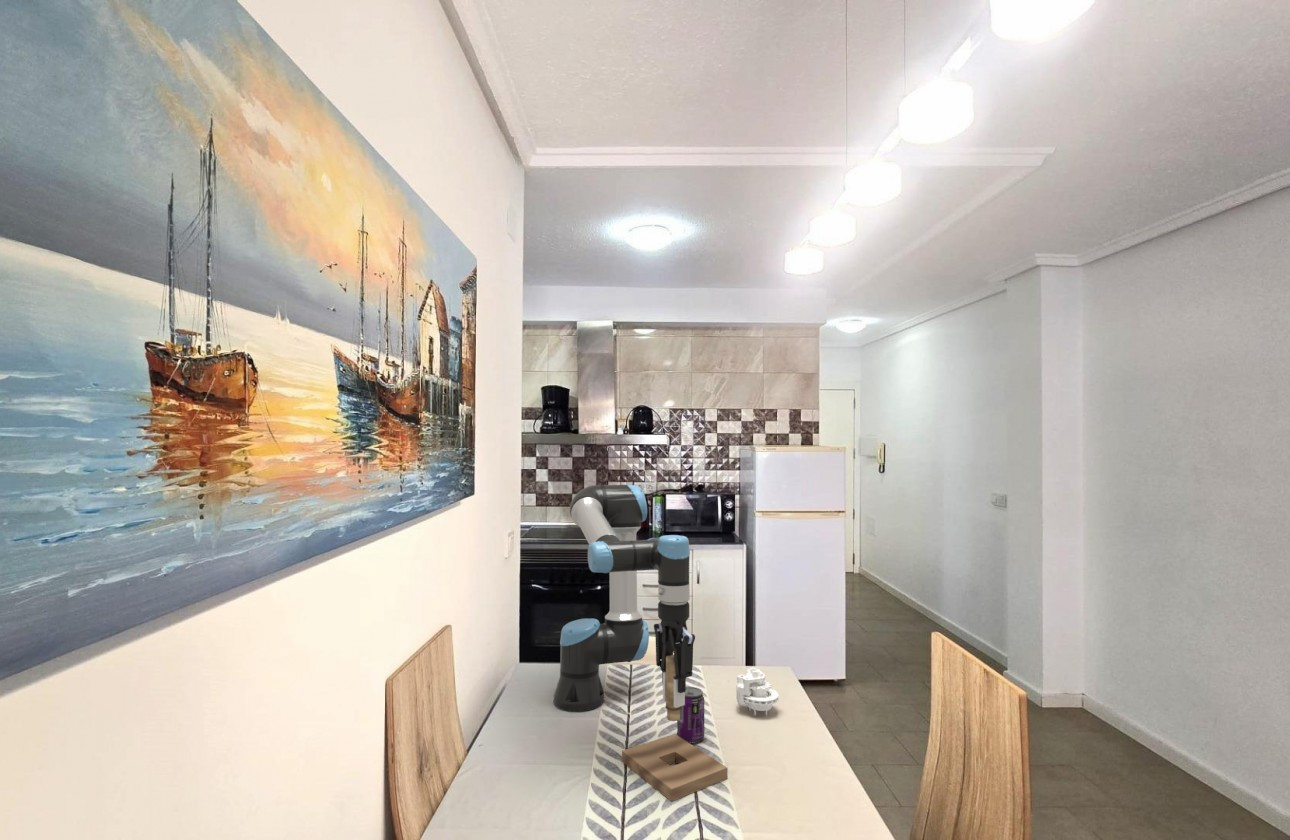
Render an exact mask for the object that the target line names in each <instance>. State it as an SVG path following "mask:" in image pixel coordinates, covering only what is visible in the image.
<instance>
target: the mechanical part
mask: <svg viewBox="0 0 1290 840" xmlns="http://www.w3.org/2000/svg"><path fill="white" fill-rule="evenodd" d="M735 689H736V692H735V693H736V695H735V696H736V701H737V704H738V706H739V707H748V712H751V711H752V710H753V715H754V716H755V717H756V716H757V711H758V712H759V711H760V712H762V711H764V713H765V717H767V716H768V712H769V710H771V709H772V708H773V705H774V704H776V703H778V702H779V693H778V691H776V690H775V689H772V684H771V682H768V681H767V680H766V674H764V673H763V671H761V669H759V668H755V667H752V668H751V667H750V668H749V669H747V670H746V674H745V675H744V674H738V675H737V676H736V688H735Z"/></svg>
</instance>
